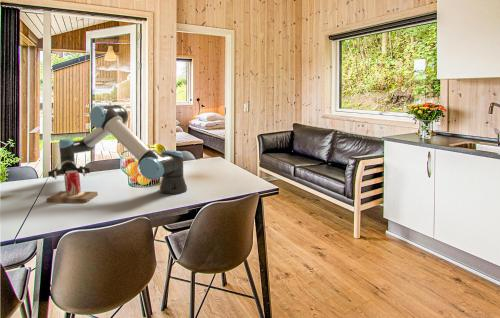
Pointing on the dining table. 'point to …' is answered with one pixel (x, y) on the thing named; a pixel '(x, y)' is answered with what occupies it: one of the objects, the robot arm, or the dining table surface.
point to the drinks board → (72, 197)
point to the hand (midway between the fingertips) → (70, 175)
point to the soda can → (72, 182)
